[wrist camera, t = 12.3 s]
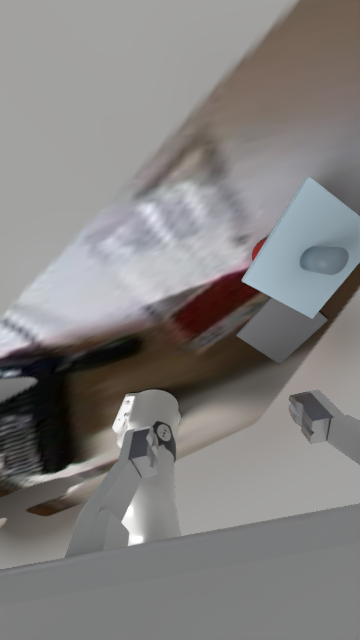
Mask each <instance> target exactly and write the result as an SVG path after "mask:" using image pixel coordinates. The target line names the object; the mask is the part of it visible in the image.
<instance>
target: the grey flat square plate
mask: <svg viewBox="0 0 360 640" xmlns="http://www.w3.org/2000/svg"><path fill="white" fill-rule="evenodd" d="M326 321H327V319H326V318H325V317H324V316H323V315H322V314H321V313H319V312H318V313H317V314H316V315H315V316H314V318H313V319H312V318H310V317H308V316H306V315H304V314H302V313H300V312H299V311H297V310H295V309H293V308H291V307H289V306H287V305H285V304H284V303H282V302H280V301H278V300H276V299H274V298H272V297H270V298H269V300H268V301H267V302H266V303H265V304H264V305H263V306H262V307H261V308H260V309H259V310H258V312H257V313H256V314H255V315H254V316H253V317H252V318H251V319H250V320H249V321H248V322H247V324H246V325H245V326H244V327H243V328H242V329H241V330H240V331H239V332H238V333H237V334H236V336H237V337H239V338H240V339H242V340H243V341H245V342H246V343H248V344H249V345H251V346H253V347H254V348H256V349H257V350H259V351H260V352H262V353H263V354H265V355H266V356H268V357H269V358H271V359H272V360H274V361H275V362H277V363H278V364H280V363H281V362H283V361H284V360H285V359H286V358H287V357H288V356H289V355H290V354H291V353H292V352H293V351H295V350H296V349H297V348H298V347H299V346H300V345H301V344H302V343H303V342H304V341H306V340H307V339H308V338H309V337H310V336H311V335H312V334H313V333H314V332H315V331H316V330H318V329H319V328H320V327H321V326H322V325H323V324H324V323H325V322H326Z"/></svg>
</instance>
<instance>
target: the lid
mask: <svg viewBox="0 0 360 640" xmlns="http://www.w3.org/2000/svg"><path fill="white" fill-rule="evenodd" d="M359 262H360V216H359V215H358V214H357V213H355V212H354V211H353V210H351V209H350V208H349V207H348V206H346V205H345V204H344V203H343V202H341V201H340V200H339V199H337V198H336V197H335V196H334V195H332V194H331V193H330V192H328V191H327V190H326V189H325V188H323V187H322V186H321V185H320V184H318V183H317V182H316V181H314V180H313V179H312V178H311V177H307V178H304V180H303V182H302V183H301V185H300V186H299V188H298V190H297V191H296V193H295V195H294V196H293V198H292V199H291V201H290V203H289V204H288V206H287V207H286V209H285V211H284V212H283V214H282V216H281V217H280V219H279V220H278V222H277V224H276V225H275V227H274V229H273V230H272V232H271V233H270V235H269V237H268V238H267V240H266V241H265V243H264V245H263V246H262V248H261V250H260V251H259V253H258V254H257V256H256V258H255V259H254V261H253V262H252V264H251V266H250V267H249V269H248V271H247V272H246V274H245V275H244V277H243V279H242V280H241V281H242V282H244V283H246V284H248V285H250V286H252V287H254V288H255V289H257V290H259V291H261V292H263V293H265V294H267V295H269V296H270V297H272V298H274V299H276V300H278V301H280V302H282V303H284V304H285V305H287V306H289V307H291V308H293V309H295V310H297V311H299V312H300V313H302V314H304V315H306V316H308V317H310V318H312V319H313V318H314V316H315V315H316V314H317V313H318V312H319V310H320V309H321V308H322V307H323V306H324V304H325V303H326V302H327V301H328V300H329V298H330V297H331V296H332V295H333V294H334V292H335V291H336V290H337V289H338V288H339V286H340V285H341V284H342V283H343V282H344V280H345V279H346V278H347V277H348V276H349V274H350V273H351V272H352V271H353V270H354V268H355V267H356V266H357V265H358V264H359Z"/></svg>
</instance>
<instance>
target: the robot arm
mask: <svg viewBox="0 0 360 640" xmlns="http://www.w3.org/2000/svg"><path fill="white" fill-rule="evenodd" d="M289 401H290V402H291V404H290V405H289V411H290V414H291V416H292V418H293V420H294V421H295V423H296V424H298V425H300V426H301V427H302V428H301V431H302V433H303V434H304V436H305V437H306V439H307V440H308V441H309V443H310V444H312V443H318V442H324V441H327V442H328V443H329V444H331V445H332V446H334V447H335V448H336V449H338V450H339V451H341V452H342V453H344V454H345V455H346V456H348V457H349V458H351V459H352V460H354V461H355V462H356V463H358V464H359V465H360V420H358V419H355V418H353V417H351V416H349V415H344V414H343V413H342V412H341V411H340V410H339V409H338V408H337V407H336V406H335V405H334V404H333V403H332V402H331V401H329V399H328V398H327V397H326V396H325V395H324V394H323V393H321V392H320V391H319V390H313V391H309V392H303V393H299V394H295V395H291V396H290V397H289ZM180 421H181V415H180V413H179V411H178V402H177V400H176V398H175V397H174V396H173V395H171V394H170V393H168V392H165V391H162V390H146V391H143V392H140V393H129V394H127V395H126V396H125V398H124V400H123V403H122V405H121V407H120V410H119V412H118V414H117V416H116V419H115V421H114V423H113V427H112V428H113V430H114V431H115V432H116V433H118V438H117V444H118V446H119V447H120V448H121V452H120V456H119V460H118V462H116V463H115V464H114V466H113V467H112V468H111V470H110V471H109V473H108V474H107V475H106V477H105V478H104V480H103V481H102V482H101V484H100V485H99V487H98V488H97V489H96V491H95V492H94V494H93V495H92V496H91V498H90V499H89V501H88V502H87V503H86V505H85V507H84V508H83V509H82V510H81V512H80V513H79V516H78V519H77V522H76V526H75V528H74V531H73V534H72V537H71V540H70V543H69V546H68V549H67V553H66V555H65V558H60V559H55V560H49V561H44V562H39V563H34V564H28V565H23V566H18V567H12V568H6V569H0V640H360V503H359V504H354V505H348V506H343V507H337V508H332V509H327V510H321V511H316V512H310V513H305V514H299V515H294V516H288V517H283V518H278V519H272V520H267V521H261V522H256V523H250V524H245V525H239V526H234V527H229V528H224V529H218V530H212V531H207V532H202V533H196V534H191V535H185V536H181V532H180V527H179V522H178V515H177V508H176V497H175V472H174V463H175V461H176V443H177V441H178V422H180Z"/></svg>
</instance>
